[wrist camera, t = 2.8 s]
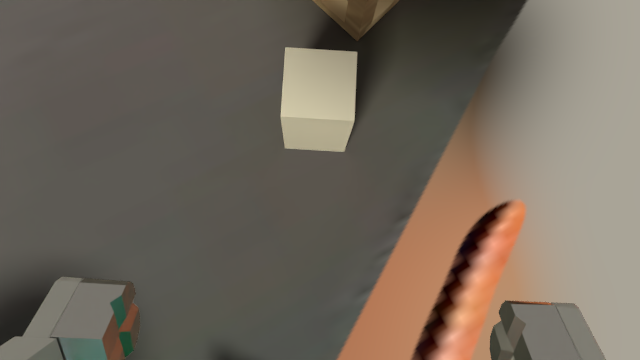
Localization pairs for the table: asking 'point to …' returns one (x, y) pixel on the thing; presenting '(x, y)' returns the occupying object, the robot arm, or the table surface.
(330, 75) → the stone block
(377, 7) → the trapdoor frame
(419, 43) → the table surface
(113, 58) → the table surface
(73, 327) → the robot arm
